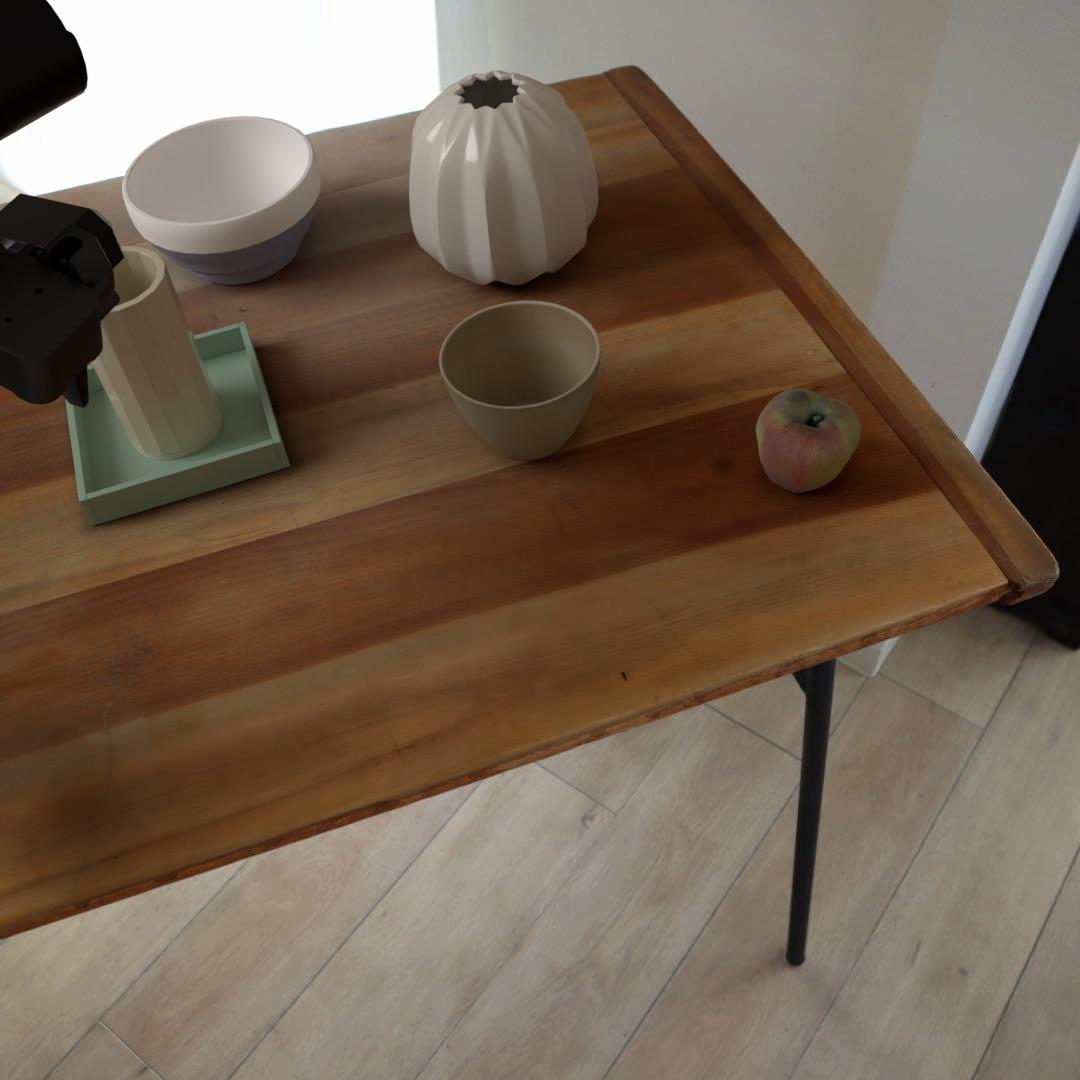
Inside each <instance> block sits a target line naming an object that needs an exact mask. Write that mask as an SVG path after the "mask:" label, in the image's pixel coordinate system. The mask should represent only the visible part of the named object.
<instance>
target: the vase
mask: <svg viewBox="0 0 1080 1080" xmlns="http://www.w3.org/2000/svg"><path fill="white" fill-rule="evenodd" d="M597 177H598V176H597V171H596V165H595V162H594V158H593V154H592V150H591V146H590V143H589V140H588V138H587V134H586V132H585V128H584V127H583V125H582V124H581V121H580V120H579V119H578V117H577V115H576V113H575V112H574V111H573V110H572V109H570V108H569V107H568V104H567V102H566V101H565V98H564V96H563V94H562V93H561V92H560V91H558V90H556V89H554V88H553V87H551V86H550V85H547V84H545V83H543V82H542V81H539V80H538V79H534V78H532V77H529V76H526V75H523V74H521V73H518V72H508V71H504V70H500V69H499V70H498V69H497V70H490V71H488V72H486V73H479V72H477V73H476V72H475V73H471V74H469V75H467V76H465V77H463V78H461V79H460V80H458V81H456V82H454V83H452V84H450V85H448V86H447V87H446V88H444V90H443V91H442V92H441V93H440V94H438V95H437V96H436V97H434V99H433V100H431V101H430V103H429V104H427V105H426V107H425V108H423V110H421V111H420V112H419V113H418V114H417V117H416V118H415V122H414V126H413V128H412V131H411V143H410V166H409V181H408V182H409V183H408V185H409V186H408V187H409V189H408V190H409V191H408V198H409V214H410V215H409V216H410V221H411V222H410V223H411V227H412V231H413V234H414V237H415V239H416V242H417V244H418V247H420V248H421V249H422V250H424V251H425V252H426V253H427V254H428V255H429V256H431V257H432V258H433V259H434V260H435V261H436V262H438V263H439V264H440V265H442V268H444V269H445V270H446V271H447V272H449V273H450V274H453V275H456V276H458V277H460V278H461V279H464V280H466V281H468V282H471V283H473V284H475V285H478V286H481V287H483V286H487V285H489V284H491V283H494V282H496V281H497V282H500V283H504V284H507V285H511V286H515V287H516V286H521V285H525V284H526V283H528V282H530V281H532V280H534V279H536V278H537V277H539V276H540V275H542V274H554V273H555V272H558V271H559V270H560V269H561V268H562V267H563V266H565V265H566V264H567V263H568V262H569V261H570V260H571V259H572V258H573V257H574V256H576V255H577V254H578V253H579V252H580V251H581V250H583V248H584V247H585V246H586V244H587V236H588V229H589V228H590V226H591V224H592V222H593V221H594V220H595V218H596V215H597V213H598V206H599V182H598V178H597Z"/></svg>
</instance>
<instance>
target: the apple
mask: <svg viewBox="0 0 1080 1080" xmlns="http://www.w3.org/2000/svg"><path fill="white" fill-rule="evenodd" d="M860 422H861V421H860V419H859V416H858V415H857V413H856V412H855V409H854V408H853V407H852V406H851V405H850V404H848V403H847V402H845V401H843V400H841V399H837V398H832V397H827V396H825V395H822V394H820V393H817V392H814V391H811V390H809V389H806V388H802V387H794V388H789V389H786V390H784V391H782V392H780V393H778V394H777V395H776V396H774V397H773V398H772V399H771V400H770V401H769V402H768V403H767V404H766V405H765V407H764V408H763V410H762V411H761V413H760V415H759V416H758V419H757V422H756V425H755V436H756V442H757V448H758V454H759V460H760V463H761V465H762V467H763V469H764V472H765V475H766V477H767V478H768V479H769V481H771V482H772V483H773V484H775V485H776V486H778V487H780V488H782V489H785V490H787V491H789V492H791V493H795V494H799V493H800V494H801V493H806V492H810V491H814V490H816V489H820V488H822V487H824V486H826V485H827V484H830V483H831V482H832V481H834V479H836V478H837V477H838V475H839V474H840V473H841V472H842V471H843V470H844V468H845V466H846V464H847V463H848V462H849V460H850V459H851V457H852V455H853V454H854V453H855V451H856V450H857V448H858V446H859V443H860V440H861V437H862V427H861V423H860Z"/></svg>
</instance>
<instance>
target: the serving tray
mask: <svg viewBox="0 0 1080 1080" xmlns="http://www.w3.org/2000/svg"><path fill="white" fill-rule="evenodd" d="M193 336H194V339H195V341H196V344H197V346H198V349H199V351H200V354H201V356H202V359H203V362H204V364H205V367H206V369H207V372H208V374H209V377H210V379H211V382H212V384H213V387H214V390H215V392H216V395H217V397H218V400H219V402H220V405H221V409H222V413H223V423H222V427H221V429H220V431H219V433H218V434H217V436H216V437H215V438H214V439H213V440H212V441H211V442H210V443H209V444H208V445H207V446H206V447H204V448H203V449H201V450H200V451H198V452H196V453H194V454H191V455H189V456H186V457H183V458H179V459H174V460H154V459H150V458H147V457H144V456H142V455H141V454H139V453H138V452H137V451H136V450H135V449H134V448H133V447H132V445H131V443H130V441H129V439H128V437H127V436H126V434H125V432H124V430H123V428H122V426H121V423H120V421H119V419H118V417H117V415H116V413H115V411H114V409H113V407H112V405H111V403H110V401H109V399H108V397H107V395H106V393H105V391H104V389H103V387H102V385H101V383H100V381H99V379H98V377H97V375H96V373H95V371H94V369H93V366H92V364H91V363H90V364H88V365H87V372H88V392H89V403H88V404H87V406H86V407H84V408H81V407H77V406H74V405H71V404H70V403H69V402H68V401H67V400H66V399H65V398H64V399H65V406H66V407H65V408H66V414H67V421H68V430H69V437H70V442H71V443H70V445H71V452H72V459H73V466H74V474H75V482H76V489H77V496H78V503H79V504H80V506H81V508H82V509H83V511H84V513H85V514H86V516H87V518H88V520H89V522H90V524H91V526H93V527H94V526H97V525H101V524H104V523H107V522H111V521H114V520H118V519H121V518H124V517H127V516H131V515H134V514H137V513H140V512H141V513H142V512H144V511H148V510H150V509H154V508H158V507H160V506H164V505H168V504H170V503H173V502H177V501H181V500H184V499H187V498H191V497H193V496H197V495H200V494H203V493H207V492H210V491H213V490H216V489H220V488H223V487H227V486H230V485H232V484H236V483H241V482H243V481H246V480H250V479H253V478H256V477H259V476H263V475H266V474H270V473H272V472H273V473H274V472H277V471H279V470H283V469H286V468H290V466H291V464H290V461H289V457H288V455H287V451H286V448H285V445H284V441H283V439H282V434H281V432H280V428H279V425H278V422H277V418H276V415H275V412H274V409H273V405H272V402H271V399H270V395H269V392H268V388H267V384H266V381H265V378H264V376H263V372H262V368H261V365H260V362H259V359H258V355H257V352H256V349H255V346H254V343H253V340H252V337H251V334H250V330H249V329H248V325H247V322H246V321H245V320H244V321H240V322H237V323H234V324H229V325H227V326H223V327H219V328H215V329H212V330H208V331H206V332H201V333H197V334H193Z"/></svg>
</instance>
